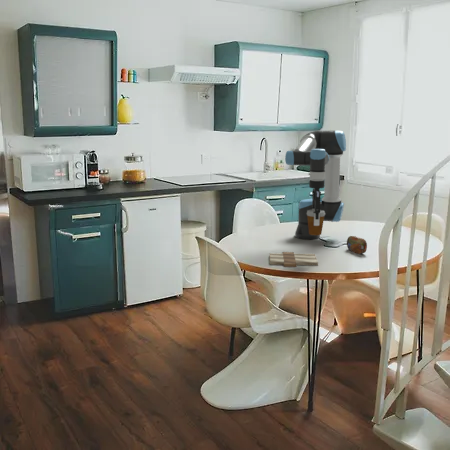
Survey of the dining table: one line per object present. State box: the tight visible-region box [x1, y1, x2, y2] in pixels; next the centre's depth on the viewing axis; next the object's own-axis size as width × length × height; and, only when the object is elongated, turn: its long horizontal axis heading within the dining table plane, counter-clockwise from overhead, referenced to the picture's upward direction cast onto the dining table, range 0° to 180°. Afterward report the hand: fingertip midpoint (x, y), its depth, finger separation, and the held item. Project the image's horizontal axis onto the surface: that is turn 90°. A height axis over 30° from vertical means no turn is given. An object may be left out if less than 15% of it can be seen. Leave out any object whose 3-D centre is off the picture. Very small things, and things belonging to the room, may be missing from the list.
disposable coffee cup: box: [306, 210, 325, 236], centre depth 278 cm, size 10×10×12 cm
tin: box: [346, 235, 368, 255], centre depth 298 cm, size 15×3×8 cm, turn 24°
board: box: [269, 251, 319, 268], centre depth 283 cm, size 22×24×2 cm
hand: (315, 223), depth 278 cm, fingers closed on disposable coffee cup, 9 cm apart
